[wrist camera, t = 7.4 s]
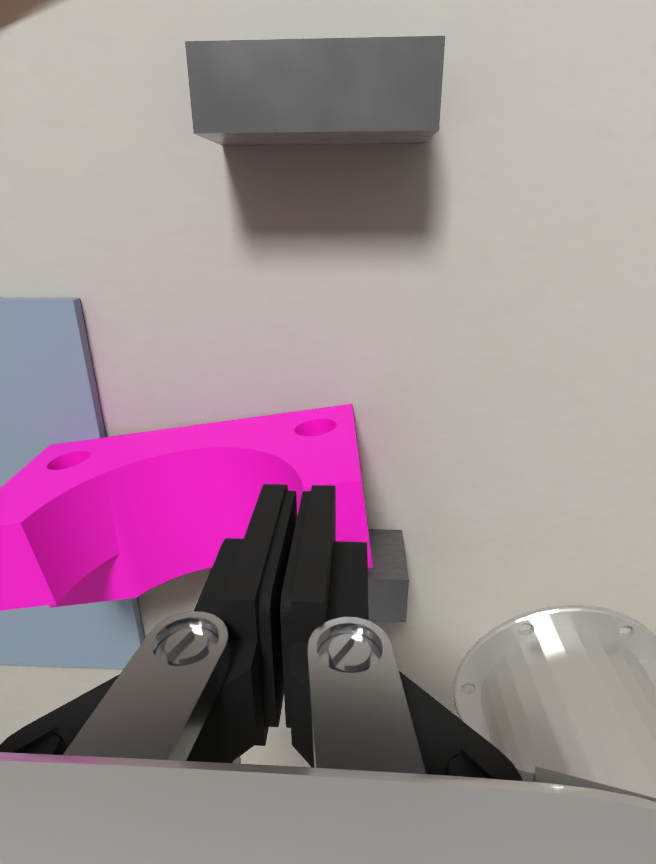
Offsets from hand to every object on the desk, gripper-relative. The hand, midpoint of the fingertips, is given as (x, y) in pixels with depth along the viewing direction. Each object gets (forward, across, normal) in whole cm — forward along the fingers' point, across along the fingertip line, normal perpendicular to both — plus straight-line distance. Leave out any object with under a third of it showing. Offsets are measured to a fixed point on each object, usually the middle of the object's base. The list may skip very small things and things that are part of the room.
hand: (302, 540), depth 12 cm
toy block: (+13, +6, +6) cm, 16 cm away
